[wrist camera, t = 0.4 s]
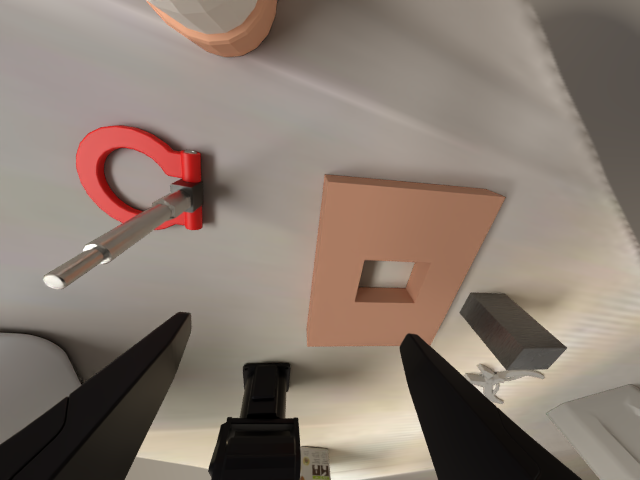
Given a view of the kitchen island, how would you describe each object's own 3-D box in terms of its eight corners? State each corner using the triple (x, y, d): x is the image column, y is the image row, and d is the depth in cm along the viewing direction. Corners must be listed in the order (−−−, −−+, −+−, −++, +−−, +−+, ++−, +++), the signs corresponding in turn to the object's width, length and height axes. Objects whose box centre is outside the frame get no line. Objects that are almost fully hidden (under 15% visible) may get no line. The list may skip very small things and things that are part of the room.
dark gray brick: (492, 313, 32) (547, 369, 25) (459, 312, 31) (506, 370, 24) (504, 293, 30) (567, 348, 23) (470, 292, 30) (524, 348, 23)
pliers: (504, 409, 44) (453, 392, 39) (498, 400, 45) (447, 383, 40) (551, 382, 40) (501, 359, 35) (542, 373, 42) (493, 350, 37)
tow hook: (100, 216, 21) (206, 233, 22) (-144, 333, 10) (101, 354, 11) (75, 113, 17) (204, 141, 19) (-377, 107, 6) (40, 179, 7)
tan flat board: (421, 329, 32) (430, 345, 30) (306, 329, 30) (307, 346, 28) (485, 188, 23) (505, 197, 20) (324, 174, 21) (328, 181, 18)
